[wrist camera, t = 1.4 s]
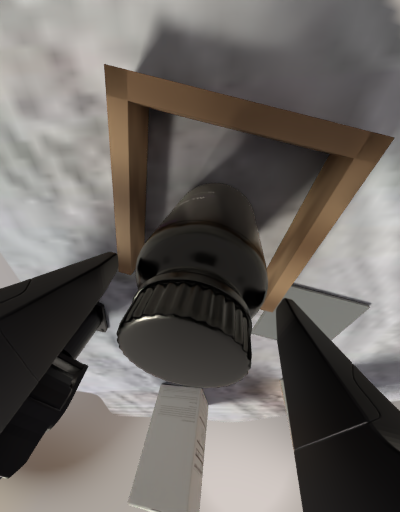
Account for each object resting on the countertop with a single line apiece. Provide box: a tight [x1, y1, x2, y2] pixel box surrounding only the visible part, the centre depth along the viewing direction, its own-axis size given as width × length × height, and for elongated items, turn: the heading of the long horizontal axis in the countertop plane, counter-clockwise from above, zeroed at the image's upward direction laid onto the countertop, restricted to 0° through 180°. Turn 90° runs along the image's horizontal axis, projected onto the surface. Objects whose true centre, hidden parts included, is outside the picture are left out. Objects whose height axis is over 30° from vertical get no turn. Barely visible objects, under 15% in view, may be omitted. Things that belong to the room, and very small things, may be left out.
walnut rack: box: [104, 64, 394, 313], centre depth 14 cm, size 14×15×3 cm
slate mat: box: [251, 285, 370, 340], centre depth 21 cm, size 9×9×1 cm
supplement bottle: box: [117, 183, 268, 388], centre depth 11 cm, size 7×7×12 cm
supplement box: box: [128, 385, 208, 512], centre depth 32 cm, size 9×9×15 cm
